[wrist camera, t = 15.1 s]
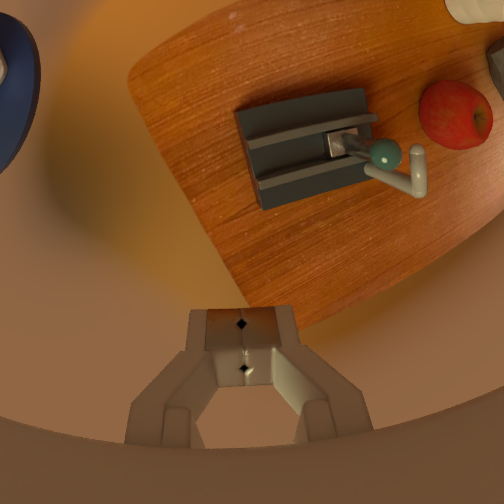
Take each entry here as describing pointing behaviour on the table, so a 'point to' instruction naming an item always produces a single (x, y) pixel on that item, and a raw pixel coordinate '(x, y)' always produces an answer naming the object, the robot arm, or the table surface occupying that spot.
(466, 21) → the water bottle
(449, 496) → the robot arm
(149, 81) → the table surface
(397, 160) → the tap handle
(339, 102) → the tap base
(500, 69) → the potted plant
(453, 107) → the apple
